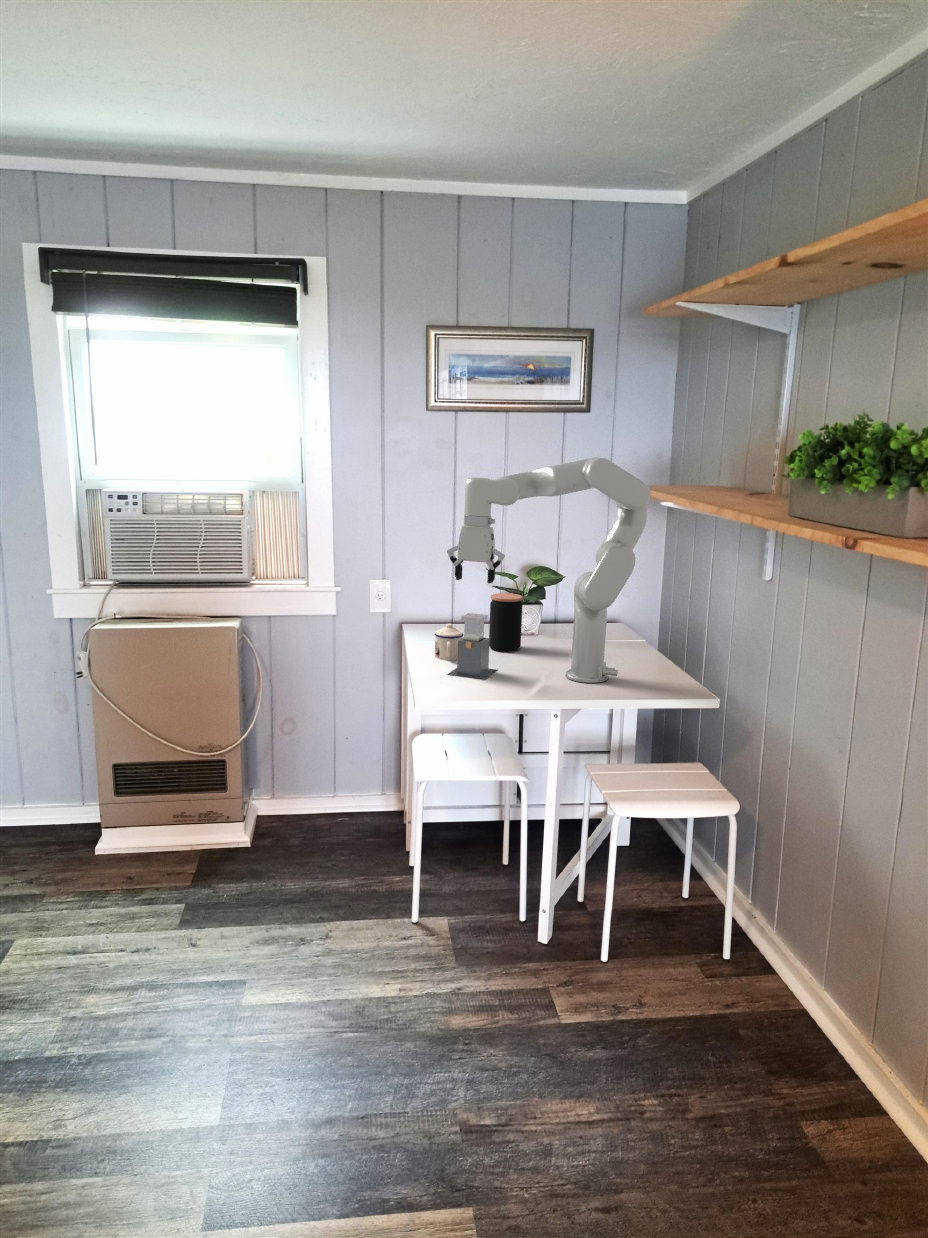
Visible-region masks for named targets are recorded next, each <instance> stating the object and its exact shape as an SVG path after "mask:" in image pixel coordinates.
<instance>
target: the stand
mask: <svg viewBox="0 0 928 1238" xmlns="http://www.w3.org/2000/svg"><path fill="white" fill-rule="evenodd" d="M489 640H490V638H489V637H484V639H483V640H482V641H480V642H473V641H465V640H464V636H463V638H462V639H460V640H458V656H457V660H456V661H457V662H456V665H457V666H456V668H454V669H453V670H452V671H450V672H448V673H447V674H446V676H452V677H458V678H459V677H460V678H467V679H474V680H482V681H486V680H487V679H489V678H490V677H491V676H493V675H494V674H495V673H496V672H498V671H499V669H493V668H489V664H490V663H489V662H490V646H489Z"/></svg>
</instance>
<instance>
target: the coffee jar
mask: <svg viewBox="0 0 928 1238" xmlns="http://www.w3.org/2000/svg"><path fill="white" fill-rule="evenodd" d="M490 599H491V601H490V605H489V607H490V608H489V629H488V631H489V633H488V638H490V640H489V649H490V650H492V651H494V652H498V653H513V652H517V651H519V650H520V648H521V647H522V625H523V624H522V623H523V602H522V600H524V599H523V595H521V594H518V593H517V594H516V593H510V592H509V593H508V592H501V593H500V592H499V593H493V594H491V595H490Z"/></svg>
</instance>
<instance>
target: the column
mask: <svg viewBox="0 0 928 1238" xmlns="http://www.w3.org/2000/svg"><path fill="white" fill-rule="evenodd" d="M488 618H489V615H488V614H482V613H472V612H469V613H466V614H464V615H462V616H461V617H460V621H464V631H463V634H464V635H463V637H464V640H465V641H473V642H480V641H482V640H483V639H484V638H485V637H484V636H485V621H486V620H488Z"/></svg>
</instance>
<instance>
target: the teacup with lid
mask: <svg viewBox="0 0 928 1238" xmlns="http://www.w3.org/2000/svg"><path fill="white" fill-rule="evenodd" d="M434 636H435V637H434V658H435V659H438V660H441V661H457V656H458V640H460V639H462V638H463V637H464V631H462V630H460V629H457V628H456V627H454V626H453V624H452V623H446V624H445V626H444V627H442V628H441V629H440V628H439V629H437V630H436V631H435V632H434Z"/></svg>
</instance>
